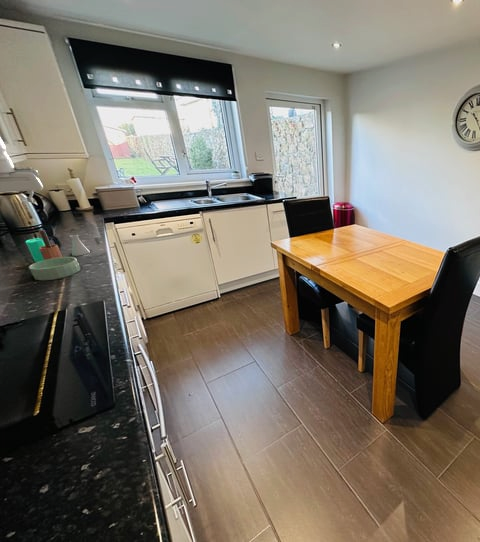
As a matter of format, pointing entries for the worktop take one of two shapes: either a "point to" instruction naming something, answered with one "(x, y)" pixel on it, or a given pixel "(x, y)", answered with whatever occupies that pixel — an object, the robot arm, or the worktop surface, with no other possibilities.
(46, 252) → the utensil pot
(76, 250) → the flask
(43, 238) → the stirring stick
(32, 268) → the mixing bowl
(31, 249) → the candle
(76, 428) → the worktop surface
